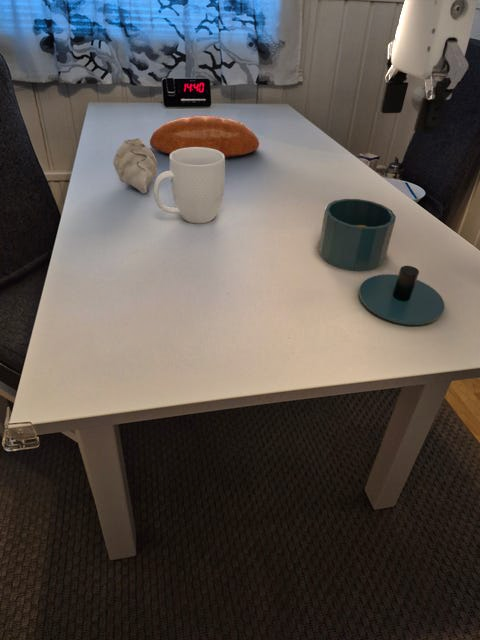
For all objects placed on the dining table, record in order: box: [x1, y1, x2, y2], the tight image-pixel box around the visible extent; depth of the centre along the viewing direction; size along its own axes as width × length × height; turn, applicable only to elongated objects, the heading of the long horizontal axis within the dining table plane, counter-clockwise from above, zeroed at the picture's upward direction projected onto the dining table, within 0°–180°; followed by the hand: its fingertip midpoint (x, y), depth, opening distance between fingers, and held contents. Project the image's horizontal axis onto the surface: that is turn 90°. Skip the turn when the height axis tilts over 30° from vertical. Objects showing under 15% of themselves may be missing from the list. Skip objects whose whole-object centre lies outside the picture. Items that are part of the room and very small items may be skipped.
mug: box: [152, 147, 226, 224], centre depth 91 cm, size 15×11×13 cm
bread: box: [149, 115, 260, 158], centre depth 128 cm, size 23×32×9 cm
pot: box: [318, 198, 397, 272], centre depth 83 cm, size 12×12×8 cm
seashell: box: [112, 138, 158, 195], centre depth 105 cm, size 10×15×10 cm
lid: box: [358, 265, 445, 326], centre depth 71 cm, size 13×13×6 cm
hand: (407, 121), depth 62 cm, fingers open, 9 cm apart
